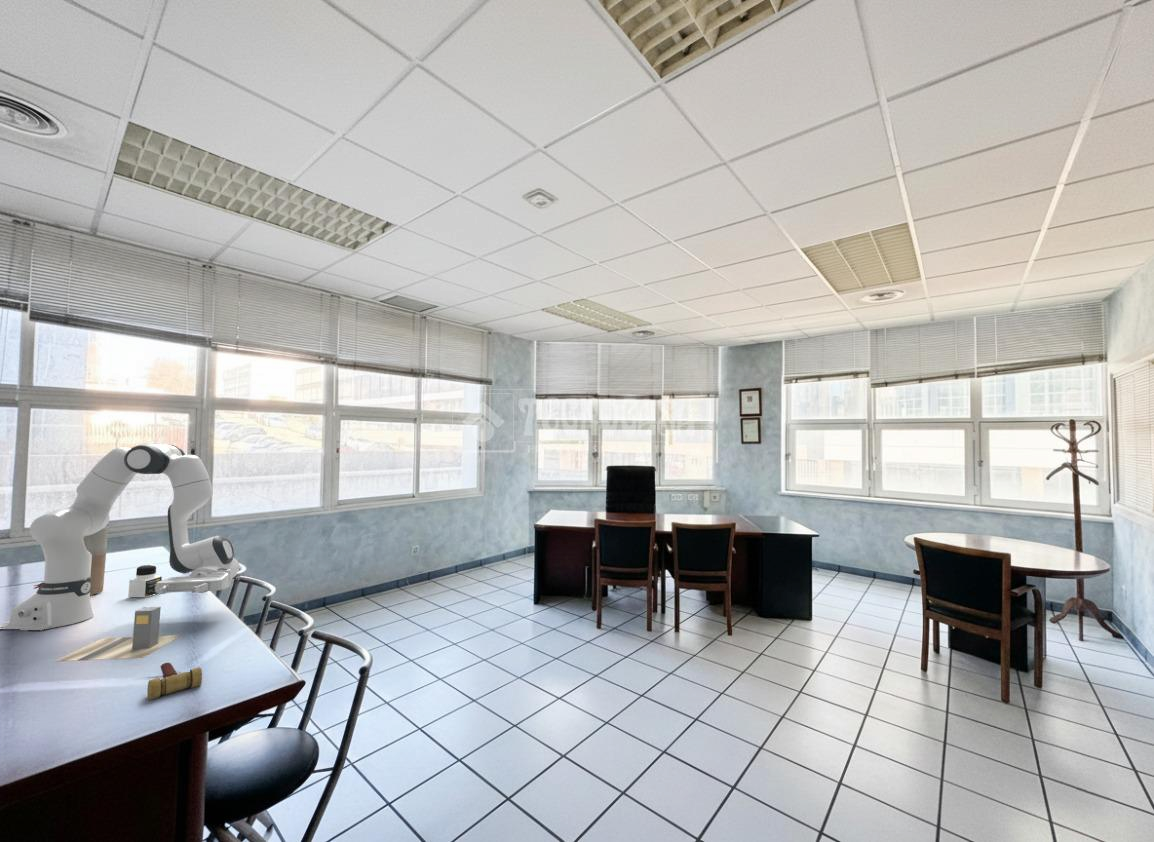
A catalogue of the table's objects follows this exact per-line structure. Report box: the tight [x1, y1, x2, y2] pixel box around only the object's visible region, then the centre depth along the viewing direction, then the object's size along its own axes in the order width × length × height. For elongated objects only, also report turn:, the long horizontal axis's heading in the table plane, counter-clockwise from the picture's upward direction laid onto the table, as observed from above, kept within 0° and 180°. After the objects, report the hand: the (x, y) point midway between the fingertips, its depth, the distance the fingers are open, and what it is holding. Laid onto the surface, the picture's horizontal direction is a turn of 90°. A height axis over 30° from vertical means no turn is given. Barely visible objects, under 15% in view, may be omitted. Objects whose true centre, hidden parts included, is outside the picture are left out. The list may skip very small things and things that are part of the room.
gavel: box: [146, 662, 203, 701], centre depth 123 cm, size 21×5×10 cm
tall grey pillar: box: [132, 606, 161, 649], centre depth 139 cm, size 4×4×11 cm
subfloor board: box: [53, 634, 183, 662], centre depth 138 cm, size 22×16×2 cm
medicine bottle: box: [127, 564, 163, 598], centre depth 190 cm, size 7×7×12 cm
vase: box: [83, 523, 109, 596], centre depth 191 cm, size 10×10×28 cm
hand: (177, 590), depth 152 cm, fingers open, 8 cm apart
